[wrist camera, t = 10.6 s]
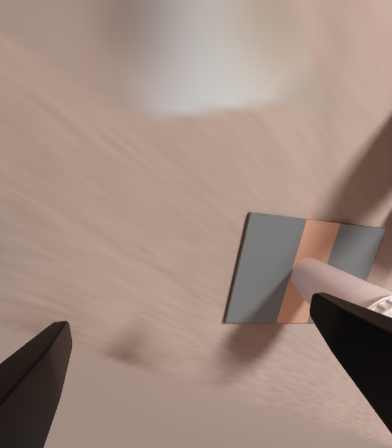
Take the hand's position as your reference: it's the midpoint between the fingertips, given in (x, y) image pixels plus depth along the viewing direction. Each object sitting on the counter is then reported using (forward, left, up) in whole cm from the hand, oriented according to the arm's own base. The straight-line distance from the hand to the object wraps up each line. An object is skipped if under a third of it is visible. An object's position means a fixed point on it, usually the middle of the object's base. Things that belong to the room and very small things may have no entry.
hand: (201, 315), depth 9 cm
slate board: (+14, -7, -13) cm, 21 cm away
